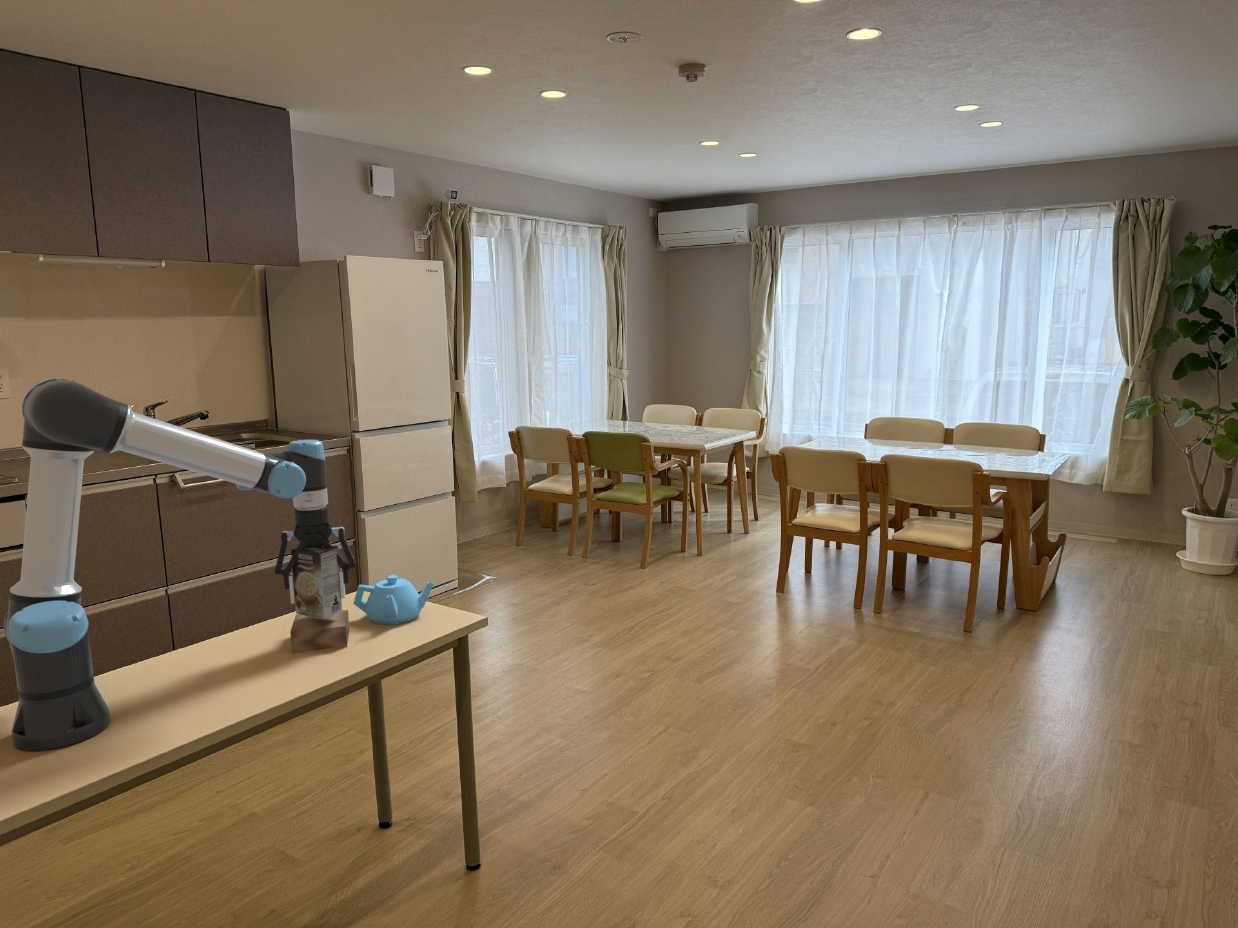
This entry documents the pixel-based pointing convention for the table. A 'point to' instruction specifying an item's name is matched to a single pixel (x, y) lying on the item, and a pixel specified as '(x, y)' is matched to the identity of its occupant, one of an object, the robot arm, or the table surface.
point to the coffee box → (317, 582)
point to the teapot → (392, 600)
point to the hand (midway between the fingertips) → (318, 599)
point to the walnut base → (319, 632)
